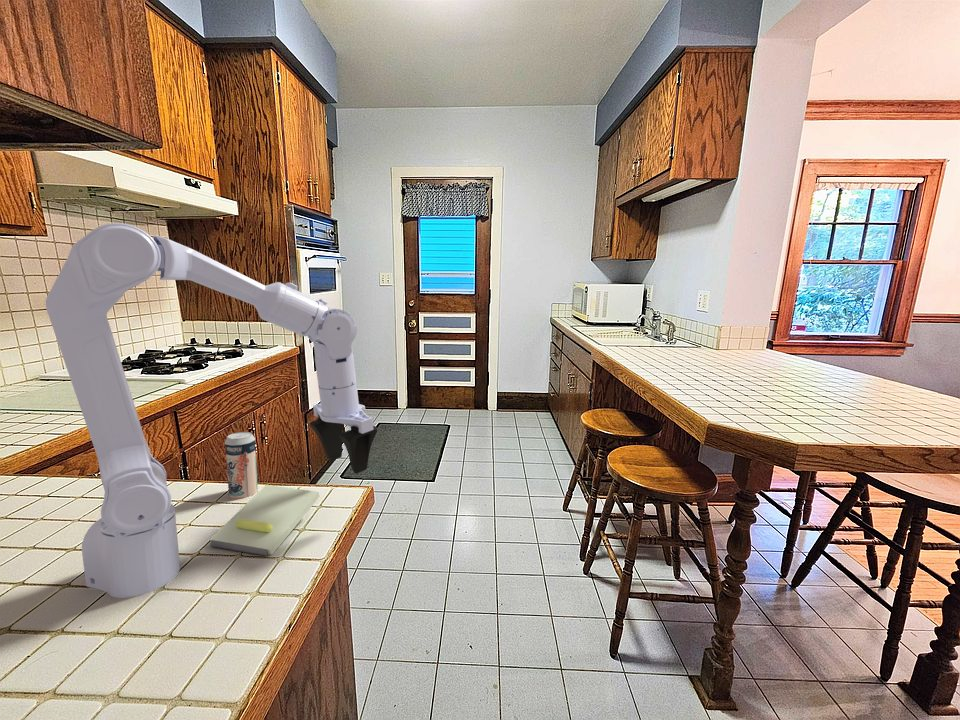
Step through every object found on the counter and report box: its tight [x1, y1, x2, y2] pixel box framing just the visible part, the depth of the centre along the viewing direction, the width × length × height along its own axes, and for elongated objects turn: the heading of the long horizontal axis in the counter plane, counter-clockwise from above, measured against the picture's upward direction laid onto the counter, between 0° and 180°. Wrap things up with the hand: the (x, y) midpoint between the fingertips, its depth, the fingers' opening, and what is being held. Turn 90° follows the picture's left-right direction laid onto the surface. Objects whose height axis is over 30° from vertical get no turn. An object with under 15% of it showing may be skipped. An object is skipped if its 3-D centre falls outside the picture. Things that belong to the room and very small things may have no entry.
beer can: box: [224, 431, 259, 500], centre depth 76 cm, size 5×5×12 cm
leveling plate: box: [209, 484, 321, 557], centre depth 64 cm, size 10×12×2 cm
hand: (347, 464), depth 69 cm, fingers open, 7 cm apart
